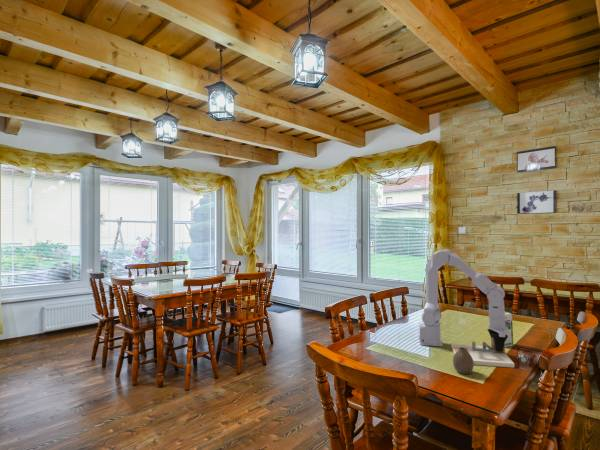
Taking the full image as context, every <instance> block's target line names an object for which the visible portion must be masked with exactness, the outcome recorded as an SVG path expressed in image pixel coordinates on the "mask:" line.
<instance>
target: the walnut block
mask: <svg viewBox="0 0 600 450" xmlns="http://www.w3.org/2000/svg"><path fill="white" fill-rule="evenodd" d="M490 347H492V348H493V349H494V350H495V352H494V353H506V349H505V348H506V347H505V343H504V348H503V351H496V347H495V342H494V339H493V337H491V336H490Z"/></svg>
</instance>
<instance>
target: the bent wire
mask: <svg viewBox="0 0 600 450" xmlns="http://www.w3.org/2000/svg"><path fill="white" fill-rule="evenodd" d="M471 345H472V350H473V351H483V352H495V350H494V349H493V348H492V347H491V345H489V344H488V343H487V342H486V341H485V342H482V346H483V349H479V348H476V347H475V346H476V342H475V341H471ZM486 347H487V348H488V349H486Z"/></svg>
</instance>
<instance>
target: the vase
mask: <svg viewBox="0 0 600 450" xmlns="http://www.w3.org/2000/svg"><path fill="white" fill-rule="evenodd" d="M452 365H453V368H454V369H455V371H456V372H457V373H458V374H461V375H469V374H471V373H472V371H473V369H474V362H473V359H472V357H471V355H470V354H469V353H468V351H467V349H466V348H463V347H460V348H459V350H458V351H457V352H456V353H455V355H453V358H452Z"/></svg>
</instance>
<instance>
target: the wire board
mask: <svg viewBox="0 0 600 450" xmlns="http://www.w3.org/2000/svg"><path fill="white" fill-rule="evenodd" d="M450 345H451V346H450V347H451V350H452V352H453V354H454V355H455V353H456V352H457V351H458V350H459V348H460V347H463V348H466V349H467V351H468V353H469V354H470V355H471V357H472V359H473V362H474V365H476V366H489V367H500V368H501V367H504V368H511V369H512V368H515V362H513V360H512V359H511V358H510V357H509V355H508V354H507V353H506V352H505V353H494V352H483V351H473V350H472V344H458V343H457V344H456V343H454V344H453V343H451V344H450ZM475 347H476V348H479V349H483V345H475ZM486 349H488V348H487V347H486ZM454 355H453V356H454Z"/></svg>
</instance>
